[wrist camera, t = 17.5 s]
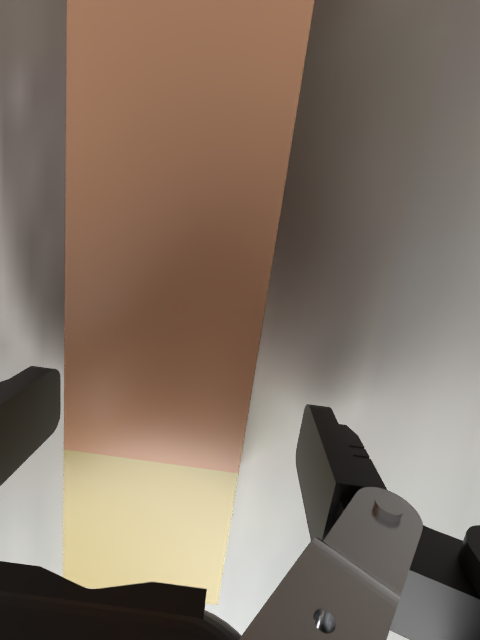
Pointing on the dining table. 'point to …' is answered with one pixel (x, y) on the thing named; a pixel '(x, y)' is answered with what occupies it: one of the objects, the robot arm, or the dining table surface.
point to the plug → (168, 271)
